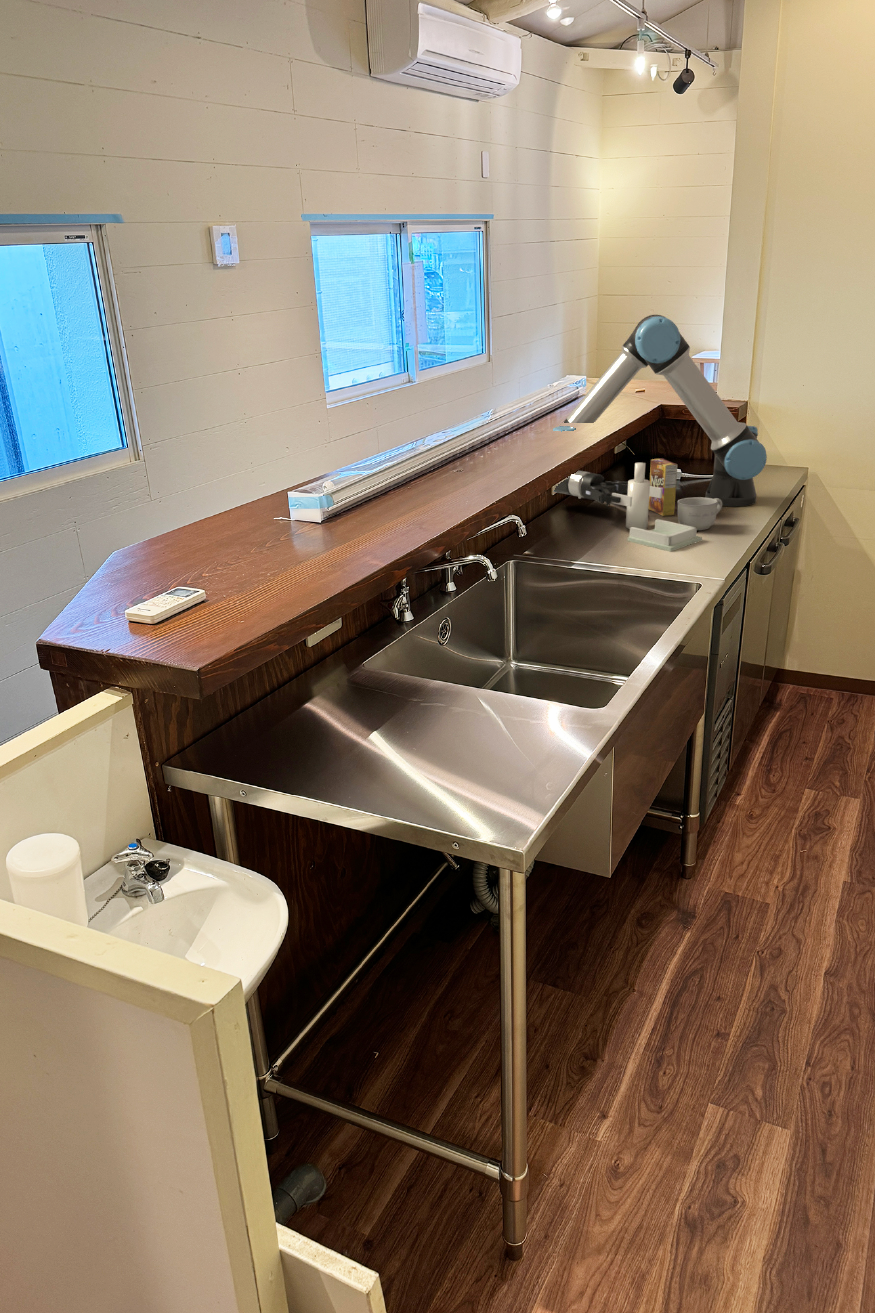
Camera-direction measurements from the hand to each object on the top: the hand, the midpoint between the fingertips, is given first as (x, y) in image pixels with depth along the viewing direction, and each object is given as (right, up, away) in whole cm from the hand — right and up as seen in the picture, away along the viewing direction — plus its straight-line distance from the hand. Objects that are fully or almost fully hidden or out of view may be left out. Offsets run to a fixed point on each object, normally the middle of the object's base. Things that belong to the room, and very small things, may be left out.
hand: (646, 497), depth 264 cm
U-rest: (+3, -13, -8) cm, 15 cm away
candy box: (+9, -1, +20) cm, 22 cm away
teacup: (+16, -8, +4) cm, 18 cm away
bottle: (-2, -7, +6) cm, 9 cm away
